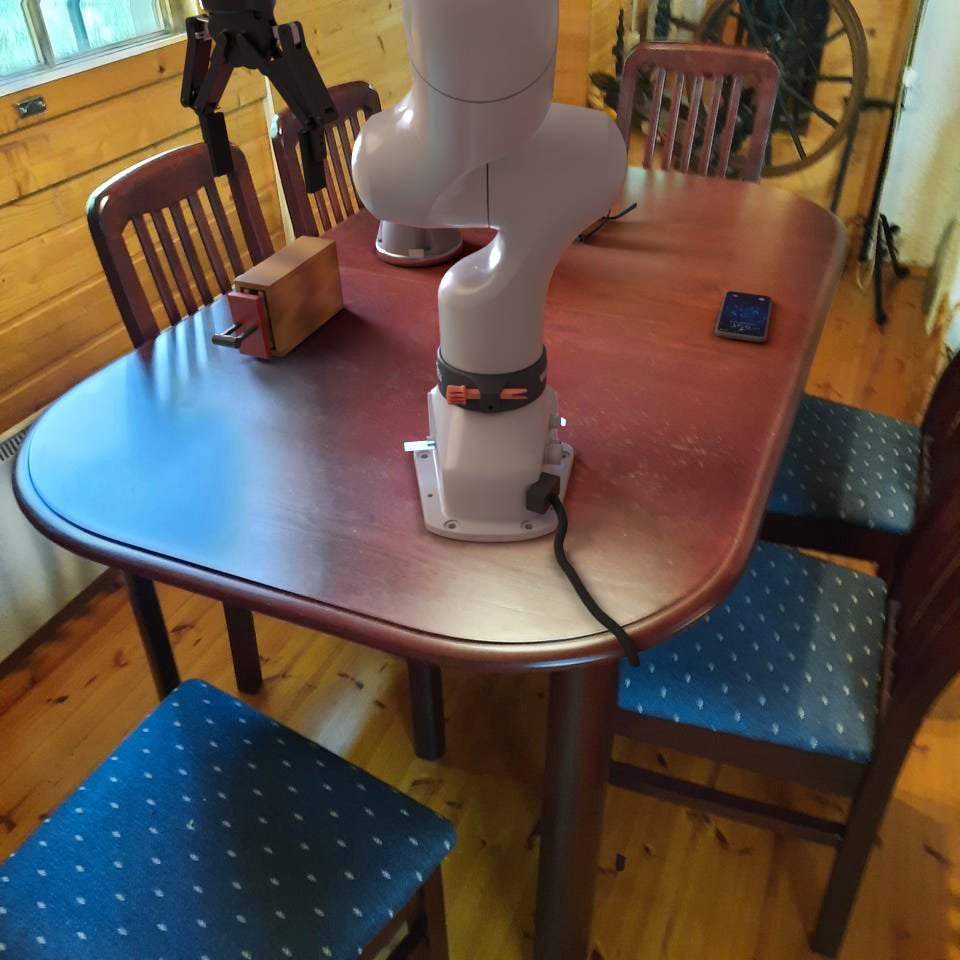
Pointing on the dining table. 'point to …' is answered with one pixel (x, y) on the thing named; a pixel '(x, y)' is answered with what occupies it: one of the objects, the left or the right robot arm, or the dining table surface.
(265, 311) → the drawer
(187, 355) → the dining table surface
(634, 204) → the sunglasses
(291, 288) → the cabinet
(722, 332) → the smartphone
